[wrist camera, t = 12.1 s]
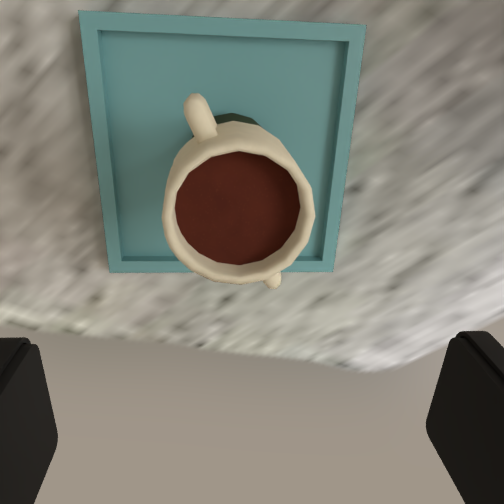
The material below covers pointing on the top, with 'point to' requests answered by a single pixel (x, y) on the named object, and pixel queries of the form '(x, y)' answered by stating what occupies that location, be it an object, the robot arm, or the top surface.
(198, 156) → the character mug
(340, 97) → the tray
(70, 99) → the top surface
